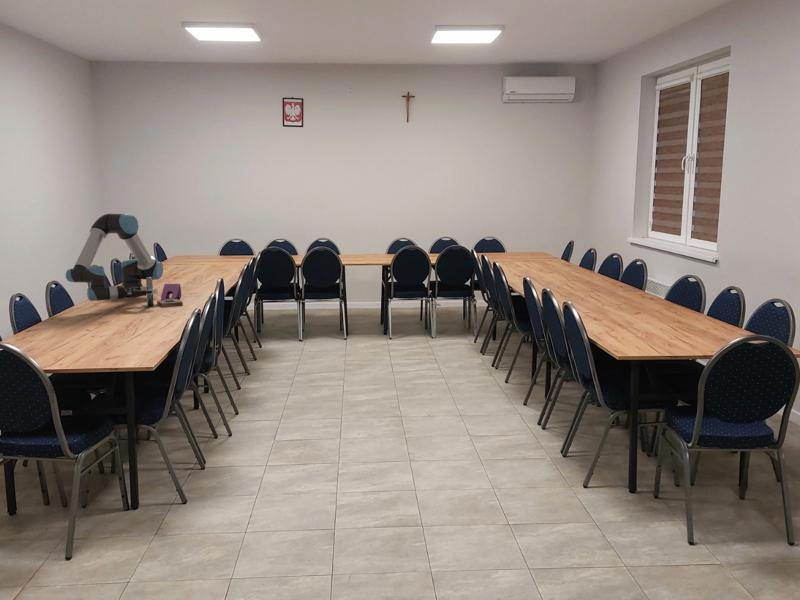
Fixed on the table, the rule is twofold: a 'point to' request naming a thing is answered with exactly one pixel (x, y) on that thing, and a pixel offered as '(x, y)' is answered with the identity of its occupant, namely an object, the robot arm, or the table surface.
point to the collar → (170, 303)
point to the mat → (150, 307)
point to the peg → (149, 286)
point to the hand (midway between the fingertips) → (154, 289)
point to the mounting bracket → (171, 292)
